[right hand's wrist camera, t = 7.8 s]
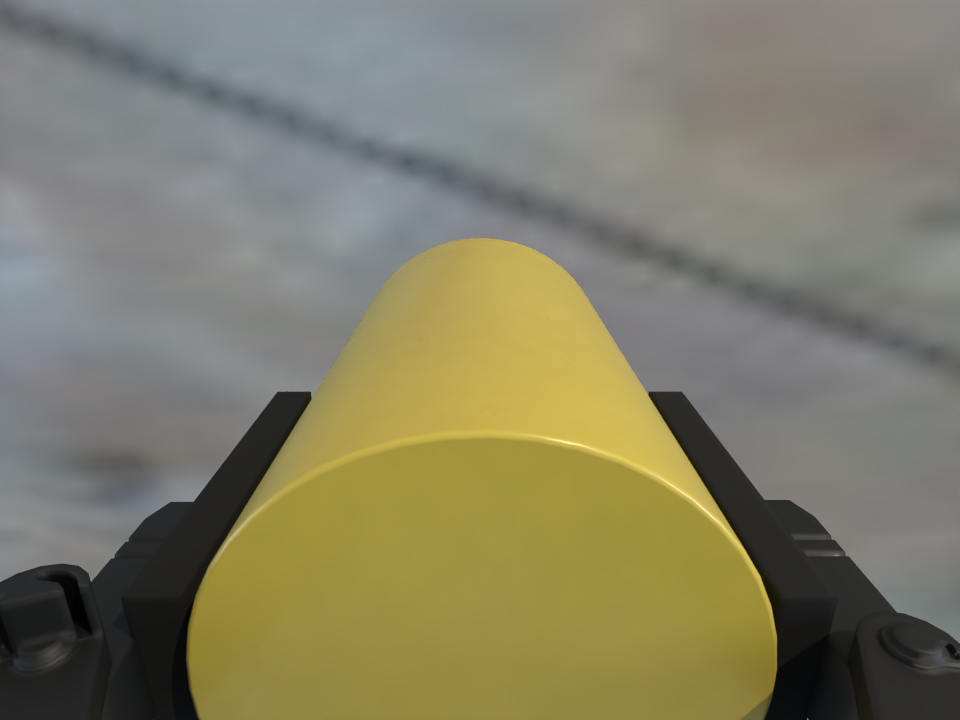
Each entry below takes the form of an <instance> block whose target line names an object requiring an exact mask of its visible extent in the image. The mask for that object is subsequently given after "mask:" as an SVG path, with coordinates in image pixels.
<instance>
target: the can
mask: <svg viewBox="0 0 960 720" xmlns="http://www.w3.org/2000/svg"><path fill="white" fill-rule="evenodd" d="M186 664H187V674H188V683H189V690H190V693H191V697H192V700H193V704H194V707H195V711H196V714H197V717H198V719H199V720H764V719H765V716H766V714H767V711H768V708H769V705H770V702H771V699H772V695H773V689H774V684H775V678H776V672H777V634H776V629H775V623H774V618H773V612H772V607H771V604H770V601H769V598H768V595H767V593H766V590H765V587H764V585H763V582H762V579H761V577H760V575H759V573H758V571H757V570H756V568H755V566H754V564H753V563H752V561H751V559H750V558H749V556H748V554H747V552H746V551H745V549H744V547H743V546H742V544H741V542H740V541H739V539H738V538H737V536H736V534H735V533H734V531H733V530H732V528H731V527H730V525H729V523H728V522H727V520H726V519H725V517H724V515H723V514H722V512H721V511H720V509H719V507H718V506H717V504H716V503H715V501H714V499H713V498H712V496H711V495H710V493H709V491H708V490H707V488H706V487H705V485H704V483H703V482H702V480H701V479H700V477H699V476H698V474H697V472H696V471H695V469H694V468H693V466H692V464H691V463H690V461H689V460H688V458H687V456H686V455H685V453H684V452H683V450H682V448H681V447H680V445H679V444H678V442H677V440H676V439H675V437H674V436H673V434H672V433H671V431H670V429H669V428H668V426H667V425H666V423H665V421H664V420H663V418H662V417H661V415H660V413H659V412H658V410H657V409H656V407H655V405H654V404H653V402H652V401H651V399H650V397H649V396H648V394H647V393H646V391H645V389H644V388H643V386H642V385H641V383H640V382H639V380H638V378H637V377H636V375H635V374H634V372H633V370H632V369H631V367H630V366H629V364H628V362H627V361H626V359H625V358H624V356H623V354H622V353H621V351H620V350H619V348H618V346H617V345H616V343H615V342H614V340H613V338H612V337H611V335H610V334H609V332H608V331H607V329H606V327H605V326H604V324H603V323H602V321H601V319H600V318H599V316H598V315H597V313H596V311H595V310H594V308H593V307H592V305H591V303H590V302H589V300H588V299H587V297H586V295H585V294H584V292H583V291H582V289H581V288H580V287H579V285H578V284H577V283H576V282H575V280H574V279H573V278H572V277H571V276H570V275H569V274H568V273H567V272H566V271H565V270H564V269H563V268H562V267H561V266H559V265H558V264H556V263H555V262H554V261H552V260H551V259H549V258H548V257H547V256H545V255H543V254H541V253H539V252H537V251H535V250H533V249H531V248H528V247H525V246H523V245H520V244H517V243H513V242H509V241H504V240H499V239H488V238H476V239H463V240H458V241H452V242H448V243H445V244H442V245H439V246H435V247H433V248H431V249H429V250H427V251H424V252H422V253H420V254H418V255H417V256H415V257H414V258H412V259H411V260H409V261H408V262H406V263H405V264H404V265H402V266H401V267H400V268H399V269H398V270H397V271H395V272H394V273H393V274H392V275H391V276H390V278H389V279H388V280H387V281H386V282H385V283H384V284H383V286H382V287H381V289H380V290H379V292H378V293H377V295H376V296H375V298H374V299H373V301H372V303H371V304H370V306H369V307H368V309H367V311H366V312H365V314H364V315H363V317H362V319H361V320H360V322H359V324H358V325H357V327H356V328H355V330H354V332H353V333H352V335H351V337H350V338H349V340H348V341H347V343H346V345H345V346H344V348H343V349H342V351H341V353H340V354H339V356H338V358H337V359H336V361H335V362H334V364H333V366H332V367H331V369H330V370H329V372H328V374H327V375H326V377H325V379H324V380H323V382H322V383H321V385H320V387H319V388H318V390H317V391H316V393H315V395H314V396H313V398H312V400H311V401H310V403H309V404H308V406H307V408H306V409H305V411H304V412H303V414H302V416H301V417H300V419H299V421H298V422H297V424H296V425H295V427H294V429H293V430H292V432H291V433H290V435H289V437H288V438H287V440H286V442H285V443H284V445H283V446H282V448H281V450H280V451H279V453H278V454H277V456H276V458H275V459H274V461H273V463H272V464H271V466H270V467H269V469H268V471H267V472H266V474H265V476H264V477H263V479H262V480H261V482H260V484H259V485H258V487H257V488H256V490H255V492H254V493H253V495H252V497H251V498H250V500H249V501H248V503H247V505H246V506H245V508H244V509H243V511H242V513H241V514H240V516H239V518H238V519H237V521H236V522H235V524H234V526H233V527H232V529H231V530H230V532H229V534H228V535H227V537H226V539H225V540H224V542H223V543H222V545H221V547H220V548H219V550H218V551H217V553H216V555H215V556H214V558H213V560H212V561H211V563H210V564H209V566H208V568H207V571H206V573H205V575H204V577H203V580H202V582H201V584H200V586H199V589H198V591H197V593H196V595H195V599H194V603H193V607H192V611H191V615H190V619H189V623H188V633H187V648H186Z"/></svg>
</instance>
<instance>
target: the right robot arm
mask: <svg viewBox="0 0 960 720" xmlns="http://www.w3.org/2000/svg"><path fill="white" fill-rule="evenodd" d="M648 396H649V397H650V399H651V401H652V402H653V404H654V405H655V407H656V409H657V410H658V412H659V413H660V415H661V417H662V418H663V420H664V421H665V423H666V425H667V426H668V428H669V429H670V431H671V433H672V434H673V436H674V437H675V439H676V440H677V442H678V444H679V445H680V447H681V448H682V450H683V452H684V453H685V455H686V456H687V458H688V460H689V461H690V463H691V464H692V466H693V468H694V469H695V471H696V472H697V474H698V476H699V477H700V479H701V480H702V482H703V483H704V485H705V487H706V488H707V490H708V491H709V493H710V495H711V496H712V498H713V499H714V501H715V503H716V504H717V506H718V507H719V509H720V511H721V512H722V514H723V515H724V517H725V519H726V520H727V522H728V523H729V525H730V527H731V528H732V530H733V531H734V533H735V534H736V536H737V538H738V539H739V541H740V542H741V544H742V546H743V547H744V549H745V551H746V552H747V554H748V556H749V558H750V559H751V561H752V563H753V564H754V566H755V568H756V570H757V571H758V573H759V575H760V577H761V579H762V582H763V585H764V587H765V590H766V593H767V595H768V598H769V601H770V604H771V607H772V612H773V618H774V623H775V629H776V634H777V672H776V678H775V684H774V689H773V695H772V699H771V702H770V705H769V708H768V711H767V714H766V716H765V719H764V720H807V717H808V719H809V720H960V644H959V643H958V642H957V641H956V640H955V639H954V638H952V637H951V636H950V635H949V634H948V633H946V632H944V631H942V630H940V629H939V628H937V627H935V626H933V625H932V624H930V623H928V622H926V621H923V620H921V619H918V618H915V617H912V616H909V615H906V614H902V613H897V612H896V611H895V610H894V609H893V608H892V606H891V605H890V604H889V603H888V602H887V601H886V599H885V598H884V597H883V596H882V595H881V594H880V592H879V591H878V590H877V589H876V588H875V587H874V585H873V584H872V583H871V582H870V581H869V580H868V578H867V577H866V576H865V575H864V574H863V573H862V571H861V570H860V569H859V568H858V567H857V566H856V564H855V563H854V562H853V561H852V560H851V559H850V557H849V556H845V552H844V550H843V549H842V548H841V547H840V546H839V545H838V543H837V542H836V541H835V540H832V539H831V535H830V534H829V533H828V532H827V531H826V529H825V528H824V527H823V526H822V525H821V524H820V522H819V521H818V520H817V519H816V518H815V517H814V516H813V515H811V514H810V513H808V512H807V511H805V510H803V509H802V508H800V507H799V506H797V505H796V504H794V503H793V502H791V501H790V500H764V499H763V498H762V496H761V495H760V494H759V492H758V491H757V490H756V488H755V487H754V486H753V484H752V483H751V482H750V480H749V479H748V478H747V477H746V475H745V474H744V473H743V471H742V470H741V469H740V467H739V466H738V465H737V463H736V462H735V461H734V460H733V458H732V457H731V456H730V454H729V453H728V452H727V450H726V449H725V448H724V446H723V445H722V444H721V442H720V441H719V440H718V439H717V437H716V436H715V435H714V433H713V432H712V431H711V429H710V428H709V427H708V425H707V424H706V423H705V421H704V420H703V419H702V418H701V416H700V415H699V414H698V412H697V411H696V410H695V408H694V407H693V406H692V404H691V403H690V402H689V400H688V399H687V398H686V397H685V395H684V394H683V393H682V392H649V395H648ZM311 400H312V399H311V392H277V393H276V395H275V396H274V397H273V399H272V400H271V401H270V403H269V404H268V405H267V406H266V408H265V409H264V410H263V412H262V413H261V414H260V416H259V417H258V418H257V420H256V421H255V422H254V424H253V425H252V426H251V427H250V429H249V430H248V431H247V433H246V434H245V435H244V437H243V438H242V439H241V441H240V442H239V443H238V445H237V446H236V447H235V448H234V450H233V451H232V452H231V454H230V455H229V456H228V458H227V459H226V460H225V462H224V463H223V464H222V466H221V467H220V468H219V469H218V471H217V472H216V473H215V475H214V476H213V477H212V479H211V480H210V481H209V483H208V484H207V485H206V486H205V488H204V489H203V490H202V492H201V493H200V494H199V496H198V497H197V498H196V500H195V501H194V502H170V503H169V504H167V505H166V506H164V507H163V508H161V509H159V510H158V511H156V512H155V513H153V514H152V515H150V516H149V517H147V518H146V519H145V520H144V521H143V522H142V523H141V525H140V526H139V527H138V528H137V529H136V530H135V532H134V533H133V534H132V535H131V536H130V537H129V541H128V542H125V543H124V544H123V546H122V547H121V548H120V549H119V550H118V551H117V553H116V554H115V558H114V559H111V560H110V561H109V562H108V563H107V564H106V566H105V567H104V568H103V569H102V570H101V571H100V573H99V574H98V575H97V576H96V577H95V578H94V580H93V581H92V582H91V581H90V577H89V574H88V573H87V572H86V571H85V570H83V569H82V568H81V567H79V566H75V565H68V564H55V565H47V566H40V567H37V568H34V569H31V570H27V571H24V572H21V573H18V574H16V575H14V576H12V577H10V578H8V579H6V580H4V581H2V582H0V720H199V719H198V717H197V714H196V711H195V707H194V704H193V700H192V697H191V693H190V690H189V683H188V674H187V664H186V648H187V633H188V623H189V619H190V615H191V611H192V607H193V603H194V599H195V595H196V593H197V591H198V589H199V586H200V584H201V582H202V580H203V577H204V575H205V573H206V571H207V568H208V566H209V564H210V563H211V561H212V560H213V558H214V556H215V555H216V553H217V551H218V550H219V548H220V547H221V545H222V543H223V542H224V540H225V539H226V537H227V535H228V534H229V532H230V530H231V529H232V527H233V526H234V524H235V522H236V521H237V519H238V518H239V516H240V514H241V513H242V511H243V509H244V508H245V506H246V505H247V503H248V501H249V500H250V498H251V497H252V495H253V493H254V492H255V490H256V488H257V487H258V485H259V484H260V482H261V480H262V479H263V477H264V476H265V474H266V472H267V471H268V469H269V467H270V466H271V464H272V463H273V461H274V459H275V458H276V456H277V454H278V453H279V451H280V450H281V448H282V446H283V445H284V443H285V442H286V440H287V438H288V437H289V435H290V433H291V432H292V430H293V429H294V427H295V425H296V424H297V422H298V421H299V419H300V417H301V416H302V414H303V412H304V411H305V409H306V408H307V406H308V404H309V403H310V401H311Z"/></svg>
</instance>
